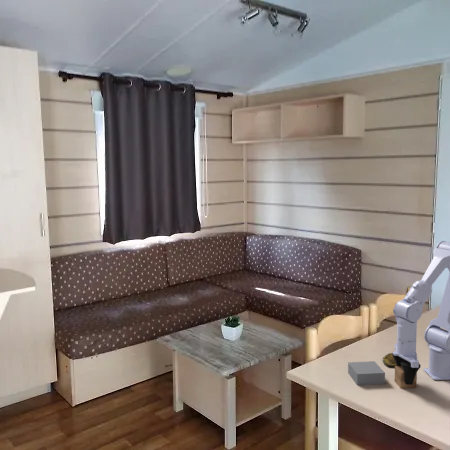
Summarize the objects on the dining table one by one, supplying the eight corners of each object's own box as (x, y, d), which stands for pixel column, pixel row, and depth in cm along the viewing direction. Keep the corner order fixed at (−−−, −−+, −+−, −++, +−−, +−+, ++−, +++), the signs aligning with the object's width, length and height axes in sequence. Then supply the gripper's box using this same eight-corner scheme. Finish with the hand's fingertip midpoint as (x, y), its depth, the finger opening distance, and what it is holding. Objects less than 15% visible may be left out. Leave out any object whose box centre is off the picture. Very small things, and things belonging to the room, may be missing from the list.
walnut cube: (409, 380, 153) (410, 365, 152) (416, 387, 148) (416, 372, 147) (394, 380, 153) (394, 366, 152) (400, 388, 148) (400, 372, 147)
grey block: (374, 372, 160) (374, 361, 159) (384, 384, 151) (385, 372, 150) (348, 373, 159) (348, 362, 159) (357, 386, 150) (357, 374, 150)
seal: (403, 375, 160) (417, 360, 171) (404, 362, 159) (419, 348, 170) (376, 365, 165) (392, 351, 177) (378, 352, 165) (393, 339, 176)
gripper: (385, 331, 155) (384, 370, 157) (402, 347, 141) (401, 391, 143) (407, 330, 155) (406, 369, 157) (426, 347, 141) (424, 390, 143)
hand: (405, 380), depth 150 cm, fingers closed on walnut cube, 5 cm apart
